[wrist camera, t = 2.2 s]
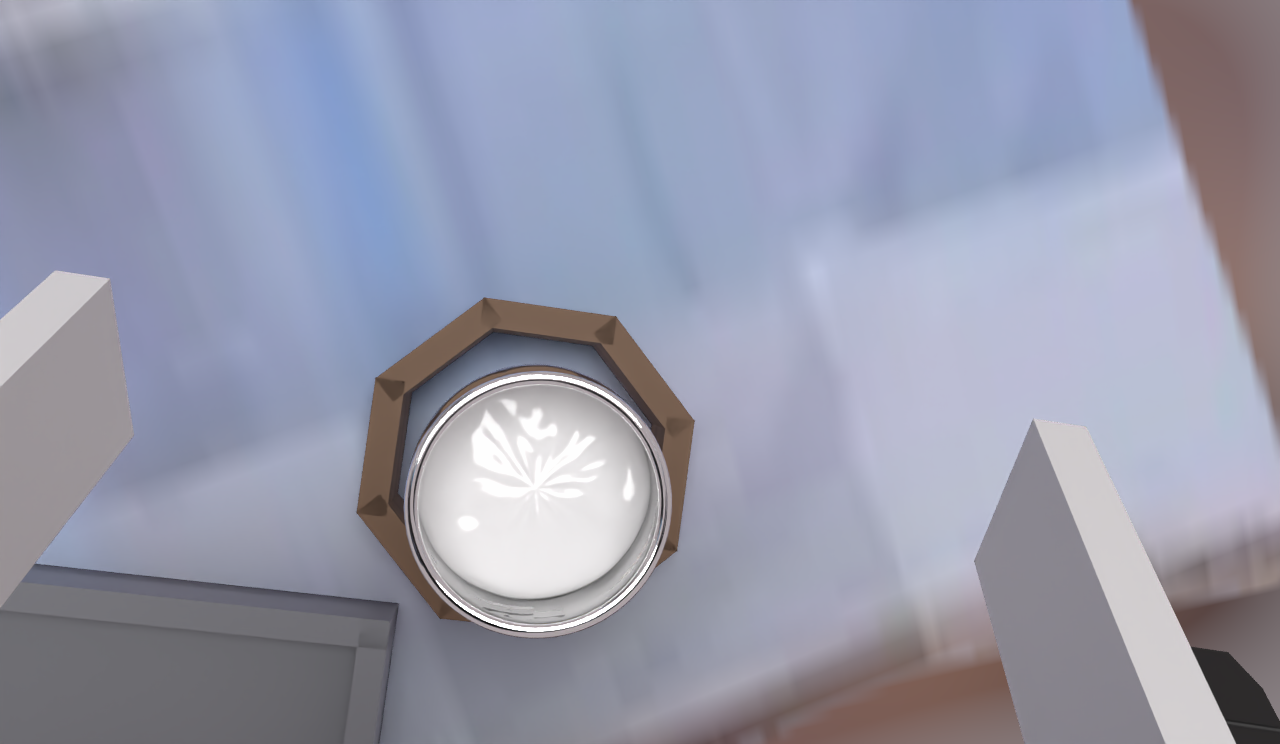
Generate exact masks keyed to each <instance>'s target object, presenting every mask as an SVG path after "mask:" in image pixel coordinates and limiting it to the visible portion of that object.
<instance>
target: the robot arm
mask: <svg viewBox="0 0 1280 744" xmlns="http://www.w3.org/2000/svg"><path fill="white" fill-rule="evenodd" d="M133 436H134V433H133V426H132V420H131V413H130V407H129V400H128V393H127V387H126V380H125V374H124V367H123V361H122V354H121V348H120V341H119V334H118V328H117V321H116V315H115V308H114V302H113V295H112V289H111V282H110V279H108V278H102V277H95V276H88V275H82V274H75V273H69V272H62V271H54V272H53V273H52V274H51V275H50V276H49V277H47V278H46V279H45V280H44V281H43V282H42V283H41V284H40V285H39V286H37V287H36V288H35V289H34V290H33V291H32V292H31V293H30V294H28V295H27V296H26V297H25V298H24V299H23V300H22V301H21V302H20V303H18V304H17V305H16V306H15V307H14V308H13V309H12V310H11V311H9V312H8V313H7V314H6V315H5V316H4V317H3V318H2V319H1V320H0V608H1V606H2V605H3V604H4V603H5V601H6V600H7V599H8V597H9V596H10V595H11V594H12V592H13V591H14V590H15V588H16V587H17V586H18V585H19V583H20V582H21V581H22V579H23V578H24V577H25V575H26V574H27V573H28V572H29V570H30V569H31V568H32V566H33V565H34V564H35V563H36V561H37V560H38V559H39V557H40V556H41V555H42V554H43V552H44V551H45V550H46V548H47V547H48V546H49V545H50V543H51V542H52V541H53V539H54V538H55V537H56V535H57V534H58V533H59V532H60V530H61V529H62V528H63V526H64V525H65V524H66V523H67V521H68V520H69V519H70V517H71V516H72V515H73V514H74V512H75V511H76V510H77V508H78V507H79V506H80V504H81V503H82V502H83V501H84V499H85V498H86V497H87V495H88V494H89V493H90V492H91V490H92V489H93V488H94V486H95V485H96V484H97V483H98V481H99V480H100V479H101V477H102V476H103V475H104V474H105V472H106V471H107V470H108V468H109V467H110V466H111V464H112V463H113V462H114V461H115V459H116V458H117V457H118V455H119V454H120V453H121V452H122V450H123V449H124V448H125V446H126V445H127V444H128V443H129V441H130V440H131V439H132V437H133ZM974 562H975V565H976V569H977V573H978V576H979V580H980V583H981V587H982V591H983V594H984V598H985V602H986V605H987V609H988V612H989V616H990V620H991V623H992V627H993V631H994V634H995V638H996V641H997V645H998V649H999V652H1000V656H1001V660H1002V663H1003V667H1004V670H1005V674H1006V678H1007V681H1008V684H1009V689H1010V692H1011V696H1012V699H1013V703H1014V707H1015V710H1016V714H1017V717H1018V721H1019V725H1020V728H1021V732H1022V735H1023V739H1024V743H1025V744H1280V721H1279V719H1278V717H1277V715H1276V713H1275V711H1274V709H1273V708H1272V706H1271V704H1270V702H1269V700H1268V698H1267V696H1266V694H1265V692H1264V690H1263V689H1262V687H1261V686H1260V685H1259V684H1258V683H1257V682H1256V681H1255V680H1254V679H1253V678H1252V677H1251V676H1250V675H1249V674H1248V673H1247V672H1246V671H1245V670H1244V669H1243V668H1242V666H1240V664H1239V663H1238V662H1237V661H1236V660H1235V659H1234V658H1233V657H1232V656H1231V655H1230V654H1229V653H1228V652H1223V651H1216V650H1209V649H1202V648H1195V647H1190V645H1189V643H1188V641H1187V639H1186V637H1185V635H1184V632H1183V631H1182V628H1181V626H1180V624H1179V622H1178V620H1177V618H1176V615H1175V613H1174V611H1173V609H1172V607H1171V605H1170V603H1169V601H1168V599H1167V596H1166V594H1165V592H1164V590H1163V588H1162V586H1161V584H1160V582H1159V579H1158V577H1157V575H1156V573H1155V571H1154V569H1153V567H1152V565H1151V563H1150V560H1149V558H1148V556H1147V554H1146V552H1145V550H1144V548H1143V546H1142V544H1141V541H1140V539H1139V537H1138V535H1137V533H1136V531H1135V529H1134V527H1133V525H1132V522H1131V520H1130V518H1129V516H1128V514H1127V512H1126V510H1125V508H1124V505H1123V503H1122V501H1121V499H1120V497H1119V495H1118V493H1117V491H1116V489H1115V486H1114V484H1113V482H1112V480H1111V478H1110V476H1109V474H1108V472H1107V470H1106V467H1105V465H1104V463H1103V461H1102V459H1101V457H1100V455H1099V453H1098V450H1097V448H1096V446H1095V444H1094V442H1093V440H1092V438H1091V436H1090V434H1089V431H1088V429H1087V427H1085V426H1078V425H1072V424H1065V423H1058V422H1052V421H1045V420H1039V419H1033V420H1032V423H1031V425H1030V428H1029V430H1028V433H1027V435H1026V437H1025V440H1024V442H1023V445H1022V447H1021V449H1020V452H1019V454H1018V457H1017V459H1016V461H1015V464H1014V466H1013V469H1012V471H1011V473H1010V476H1009V478H1008V481H1007V483H1006V486H1005V488H1004V490H1003V493H1002V495H1001V498H1000V500H999V502H998V505H997V507H996V510H995V512H994V514H993V517H992V519H991V522H990V524H989V527H988V529H987V531H986V534H985V536H984V539H983V541H982V543H981V546H980V548H979V551H978V553H977V555H976V558H975V560H974Z"/></svg>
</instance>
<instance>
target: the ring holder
mask: <svg viewBox="0 0 1280 744" xmlns="http://www.w3.org/2000/svg"><path fill="white" fill-rule="evenodd" d="M493 332H498V333H505V334H512V335H519V336H526V337H533V338H540V339H547V340H554V341H561V342H569V343H576V344H583V345H590V346H593V347H594V349H595V350H596V351H597V352H598V354H599V355H600V356H601V358H602V359H603V360H604V362H605V363H606V364H607V366H608V367H609V368H610V370H611V371H612V372H613V374H614V375H615V376H616V378H617V379H618V380H619V382H620V383H621V384H622V386H623V387H624V388H625V390H626V391H627V392H628V394H629V395H630V396H631V398H632V399H633V400H634V402H635V403H636V404H637V405H638V407H639V408H640V409H641V411H642V412H643V413H644V415H645V416H646V417H647V419H648V420H649V421H650V423H651V424H652V428H651V432H652V434H653V436H654V437H655V439H656V441H657V443H658V445H659V447H660V449H661V451H662V454H663V456H664V459H665V462H666V465H667V469H668V473H669V478H670V484H671V493H672V512H671V521H670V528H669V532H668V537H667V540H666V544H665V546H664V549H663V552H662V554H661V557H660V559H659V561H658V563H657V565H656V567H657V566H658V565H659V564H661V563H662V562H663V561H664V560H666V559H667V558H668V557H670V556H671V555H672V554H673V553H675V552H676V551H677V547H678V539H679V532H680V524H681V517H682V510H683V502H684V495H685V487H686V480H687V473H688V465H689V458H690V450H691V443H692V436H693V428H694V422H695V420H693V418H692V417H691V416H690V414H689V413H688V412H687V410H686V409H685V408H684V406H683V405H682V404H681V402H680V401H679V400H678V398H677V397H676V396H675V394H674V393H673V392H672V391H671V389H670V388H669V387H668V385H667V384H666V383H665V381H664V380H663V379H662V377H661V376H660V375H659V373H658V372H657V371H656V369H655V368H654V367H653V365H652V364H651V363H650V361H649V360H648V359H647V357H646V356H645V355H644V353H643V352H642V351H641V349H640V348H639V347H638V345H637V344H636V343H635V341H634V340H633V339H632V337H631V336H630V335H629V333H628V332H627V331H626V329H625V328H624V327H623V325H622V324H621V323H620V321H619V320H618V319H617V317H616V316H608V315H601V314H594V313H587V312H580V311H573V310H566V309H560V308H553V307H546V306H539V305H532V304H525V303H518V302H511V301H504V300H497V299H491V298H486V297H485V298H483V299H482V300H481V301H479V302H478V303H477V304H475V305H474V306H473V307H471V308H470V309H469V310H467V311H466V312H464V313H463V314H462V315H460V316H459V317H458V318H456V319H455V320H454V321H452V322H451V323H450V324H448V325H447V326H446V327H444V328H443V329H442V330H440V331H439V332H437V333H436V334H435V335H433V336H432V337H431V338H429V339H428V340H427V341H425V342H424V343H423V344H421V345H420V346H419V347H417V348H416V349H415V350H413V351H412V352H411V353H409V354H408V355H406V356H405V357H404V358H402V359H401V360H400V361H398V362H397V363H396V364H394V365H393V366H392V367H390V368H389V369H388V370H386V371H385V372H384V373H382V374H381V375H379V376H378V377H376V378H375V387H374V394H373V401H372V408H371V415H370V422H369V429H368V436H367V443H366V450H365V457H364V464H363V471H362V478H361V486H360V493H359V500H358V507H357V514H358V515H359V516H360V517H361V519H362V520H363V521H364V523H365V524H366V525H367V526H368V528H369V529H370V530H371V531H372V533H373V534H374V535H375V537H376V538H377V539H378V540H379V542H380V543H381V544H382V546H383V547H384V548H385V549H386V551H387V552H388V553H389V554H390V556H391V557H392V558H393V560H394V561H395V562H396V563H397V565H398V566H399V567H400V568H401V570H402V571H403V572H404V574H405V575H406V576H407V577H408V579H409V580H410V581H411V582H412V584H413V585H414V586H415V588H416V589H417V590H418V591H419V593H420V594H421V595H422V596H423V598H424V599H425V600H426V602H427V603H428V604H429V605H430V607H431V608H432V609H433V610H434V612H435V613H436V614H437V616H438V617H439V618H440V619H450V620H459V621H468V622H471V621H469V620H468V619H466V618H465V617H463V616H461V615H460V614H459V613H457V612H456V611H455V610H453V609H452V608H451V607H450V606H449V605H447V604H446V603H445V602H444V601H443V600H442V599H441V598H440V597H439V596H438V595H437V593H436V592H435V591H434V590H433V589H432V587H431V586H430V585H429V583H428V582H427V581H426V579H425V578H424V576H423V574H422V573H421V571H420V569H419V567H418V565H417V563H416V561H415V559H414V556H413V554H412V551H411V548H410V545H409V541H408V537H407V533H406V527H405V519H404V501H403V499H402V498H401V497H400V495H399V494H398V488H399V481H400V474H401V467H402V460H403V453H404V445H405V438H406V431H407V424H408V417H409V410H410V403H411V396H412V392H414V391H415V390H416V389H418V388H419V387H420V386H422V385H423V384H424V383H426V382H427V381H428V380H430V379H431V378H432V377H434V376H435V375H436V374H438V373H439V372H440V371H442V370H443V369H444V368H446V367H447V366H448V365H450V364H451V363H452V362H454V361H455V360H456V359H458V358H459V357H460V356H462V355H463V354H464V353H466V352H467V351H468V350H470V349H471V348H472V347H474V346H475V345H476V344H478V343H479V342H481V341H482V340H483V339H485V338H486V337H487V336H489V335H490V334H491V333H493ZM656 567H655V568H656Z"/></svg>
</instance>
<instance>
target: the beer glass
mask: <svg viewBox="0 0 1280 744" xmlns="http://www.w3.org/2000/svg"><path fill="white" fill-rule="evenodd" d="M671 512H672V493H671V484H670V478H669V473H668V469H667V465H666V462H665V459H664V456H663V454H662V451H661V449H660V447H659V445H658V443H657V441H656V439H655V437H654V436H653V434H652V432H651V431H650V429H649V428H648V426H647V425H646V424H645V422H644V421H643V420H642V419H641V417H640V416H639V415H638V414H637V413H636V412H635V411H634V410H633V409H632V408H631V407H630V406H629V405H628V404H627V403H626V402H625V401H624V400H623V399H622V398H621V397H620V396H619V395H618V394H616V393H615V392H614V391H613V390H611V389H610V388H609V387H607V386H605V385H604V384H602V383H601V382H599V381H597V380H595V379H593V378H591V377H589V376H587V375H585V374H582V373H580V372H577V371H574V370H571V369H568V368H563V367H559V366H553V365H544V364H525V365H517V366H511V367H506V368H502V369H499V370H496V371H493V372H490V373H488V374H485V375H483V376H481V377H479V378H477V379H475V380H473V381H471V382H470V383H468V384H467V385H465V386H464V387H462V388H461V389H459V390H458V391H457V392H456V393H454V394H453V395H452V396H451V397H450V398H449V399H448V400H447V401H446V402H445V403H444V404H443V405H442V406H441V407H440V408H439V409H438V411H437V412H436V413H435V414H434V416H433V417H432V418H431V420H430V421H429V423H428V424H427V426H426V427H425V429H424V431H423V433H422V435H421V436H420V439H419V441H418V443H417V445H416V448H415V450H414V453H413V456H412V460H411V463H410V468H409V472H408V476H407V481H406V486H405V495H404V519H405V527H406V533H407V537H408V541H409V545H410V548H411V551H412V554H413V556H414V559H415V561H416V563H417V565H418V567H419V569H420V571H421V573H422V574H423V576H424V578H425V579H426V581H427V582H428V583H429V585H430V586H431V587H432V589H433V590H434V591H435V592H436V593H437V595H438V596H439V597H440V598H441V599H442V600H443V601H444V602H445V603H446V604H447V605H449V606H450V607H451V608H452V609H453V610H455V611H456V612H457V613H459V614H460V615H461V616H463V617H465V618H466V619H468V620H469V621H471V622H473V623H475V624H477V625H479V626H481V627H483V628H486V629H488V630H491V631H494V632H497V633H501V634H504V635H509V636H514V637H522V638H550V637H558V636H563V635H567V634H571V633H575V632H578V631H581V630H584V629H586V628H589V627H591V626H593V625H595V624H597V623H599V622H601V621H603V620H605V619H606V618H608V617H609V616H611V615H612V614H614V613H615V612H617V611H618V610H619V609H621V608H622V607H623V606H624V605H625V604H627V603H628V602H629V601H630V600H631V599H632V598H633V597H634V596H635V595H636V594H637V592H638V591H639V590H640V589H641V588H642V587H643V585H644V584H645V583H646V581H647V580H648V578H649V577H650V575H651V574H652V572H653V570H654V569H655V567H656V565H657V563H658V561H659V559H660V557H661V554H662V552H663V549H664V546H665V544H666V540H667V537H668V532H669V528H670V521H671Z"/></svg>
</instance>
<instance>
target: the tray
mask: <svg viewBox="0 0 1280 744" xmlns="http://www.w3.org/2000/svg"><path fill="white" fill-rule="evenodd" d="M398 605H399V604H398V603H389V602H380V601H371V600H362V599H353V598H343V597H334V596H325V595H316V594H307V593H298V592H288V591H279V590H270V589H261V588H252V587H243V586H233V585H224V584H215V583H206V582H197V581H187V580H178V579H169V578H160V577H151V576H142V575H132V574H123V573H114V572H105V571H96V570H87V569H77V568H68V567H59V566H50V565H41V564H34V565H33V566H32V568H31V569H30V570H29V572H28V573H27V574H26V575H25V577H24V578H23V579H22V581H21V582H20V583H19V585H18V586H17V587H16V588H15V590H14V591H13V592H12V594H11V595H10V596H9V597H8V599H7V600H6V601H5V603H4V604H3V605H2V606H1V608H0V744H379V740H380V733H381V726H382V719H383V712H384V705H385V698H386V690H387V683H388V676H389V669H390V662H391V655H392V648H393V640H394V633H395V626H396V619H397V612H398Z"/></svg>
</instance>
